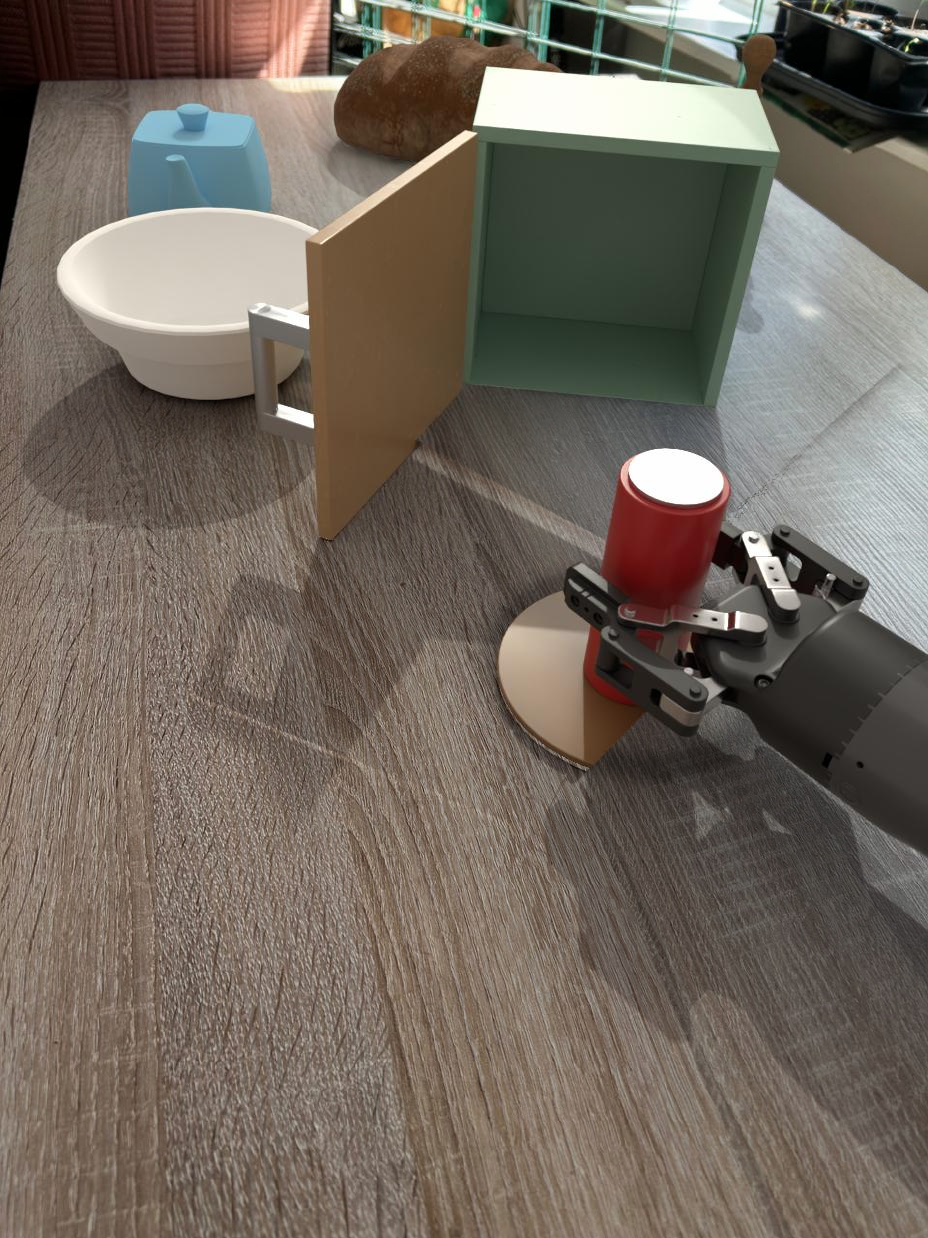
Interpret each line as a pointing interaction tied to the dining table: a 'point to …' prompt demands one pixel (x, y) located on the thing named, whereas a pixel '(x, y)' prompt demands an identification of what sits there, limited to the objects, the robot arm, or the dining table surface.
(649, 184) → the green cabinet
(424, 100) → the bread
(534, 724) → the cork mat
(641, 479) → the can
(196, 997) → the dining table surface
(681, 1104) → the dining table surface
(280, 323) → the wooden cabinet door
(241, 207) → the teapot
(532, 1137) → the dining table surface
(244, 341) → the bowl
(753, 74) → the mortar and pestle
